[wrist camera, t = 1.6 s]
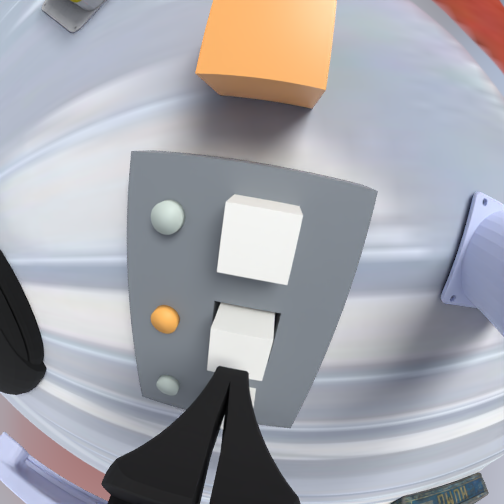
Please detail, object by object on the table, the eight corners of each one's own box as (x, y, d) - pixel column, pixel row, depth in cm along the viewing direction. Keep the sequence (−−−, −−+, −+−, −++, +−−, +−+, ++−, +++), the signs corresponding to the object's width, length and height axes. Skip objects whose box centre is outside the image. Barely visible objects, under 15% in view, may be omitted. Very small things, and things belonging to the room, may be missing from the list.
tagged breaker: (275, 307, 15) (273, 340, 12) (265, 346, 16) (261, 381, 13) (222, 297, 15) (210, 328, 13) (218, 337, 16) (207, 370, 14)
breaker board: (362, 184, 14) (393, 198, 10) (290, 405, 20) (290, 448, 16) (152, 150, 14) (109, 152, 10) (153, 376, 21) (133, 413, 16)
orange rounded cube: (323, 32, 11) (337, -6, 7) (312, 108, 13) (325, 90, 8) (235, 21, 11) (219, -19, 7) (219, 95, 13) (195, 73, 9)
